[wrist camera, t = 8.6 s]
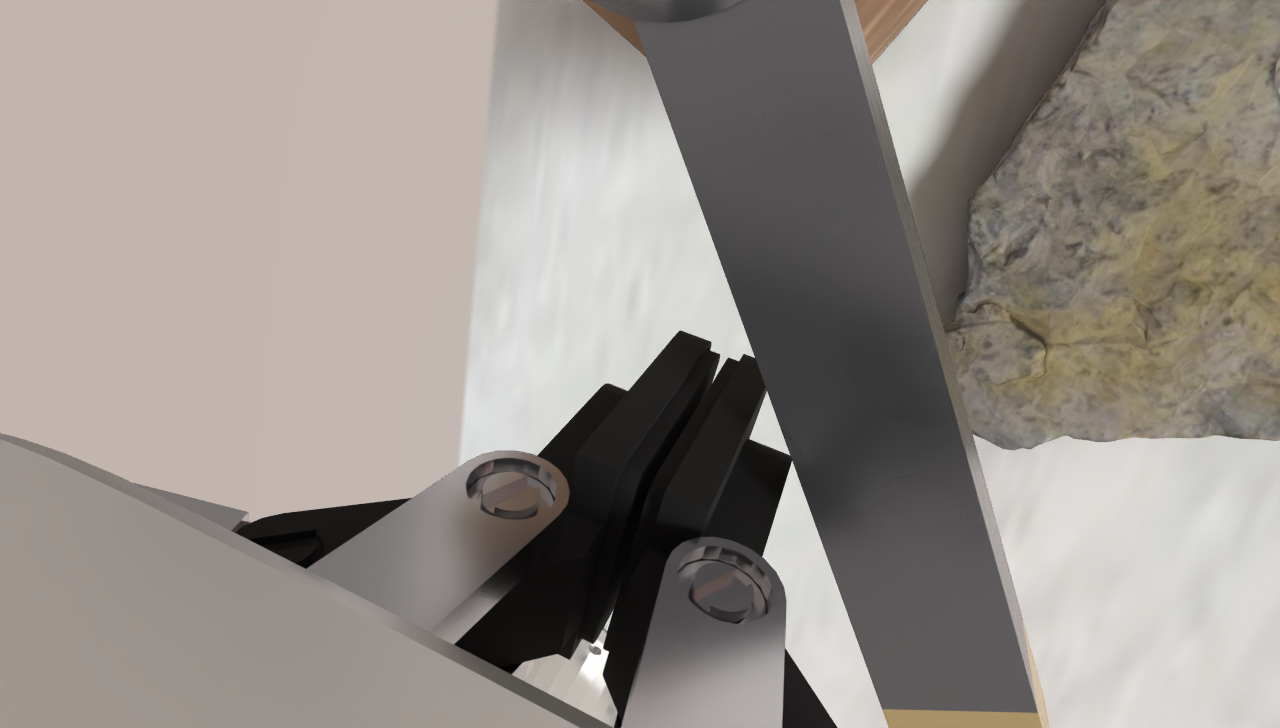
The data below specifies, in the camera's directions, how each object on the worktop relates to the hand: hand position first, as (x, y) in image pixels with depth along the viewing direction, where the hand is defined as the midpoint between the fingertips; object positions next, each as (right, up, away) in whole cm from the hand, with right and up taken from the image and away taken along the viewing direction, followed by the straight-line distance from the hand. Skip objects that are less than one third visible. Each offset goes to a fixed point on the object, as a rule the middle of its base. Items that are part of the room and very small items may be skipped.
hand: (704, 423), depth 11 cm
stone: (+18, +7, +12) cm, 23 cm away
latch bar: (+2, +2, -3) cm, 4 cm away
